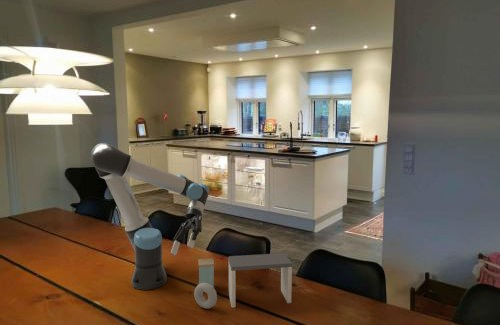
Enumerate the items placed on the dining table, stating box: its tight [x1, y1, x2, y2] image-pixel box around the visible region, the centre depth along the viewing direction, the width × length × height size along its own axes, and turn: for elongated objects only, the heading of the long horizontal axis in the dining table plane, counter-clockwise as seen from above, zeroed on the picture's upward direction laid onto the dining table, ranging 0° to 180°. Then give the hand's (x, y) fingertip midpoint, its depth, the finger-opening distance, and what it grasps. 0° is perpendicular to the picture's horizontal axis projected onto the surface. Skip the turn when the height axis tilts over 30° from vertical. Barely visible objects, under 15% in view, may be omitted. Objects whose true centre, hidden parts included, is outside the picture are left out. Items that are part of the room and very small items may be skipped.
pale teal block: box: [198, 257, 215, 289], centre depth 155 cm, size 6×6×12 cm
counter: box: [228, 252, 293, 308], centre depth 147 cm, size 24×11×16 cm, turn 99°
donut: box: [193, 283, 218, 310], centre depth 139 cm, size 10×3×10 cm, turn 63°
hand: (181, 250), depth 162 cm, fingers open, 13 cm apart
